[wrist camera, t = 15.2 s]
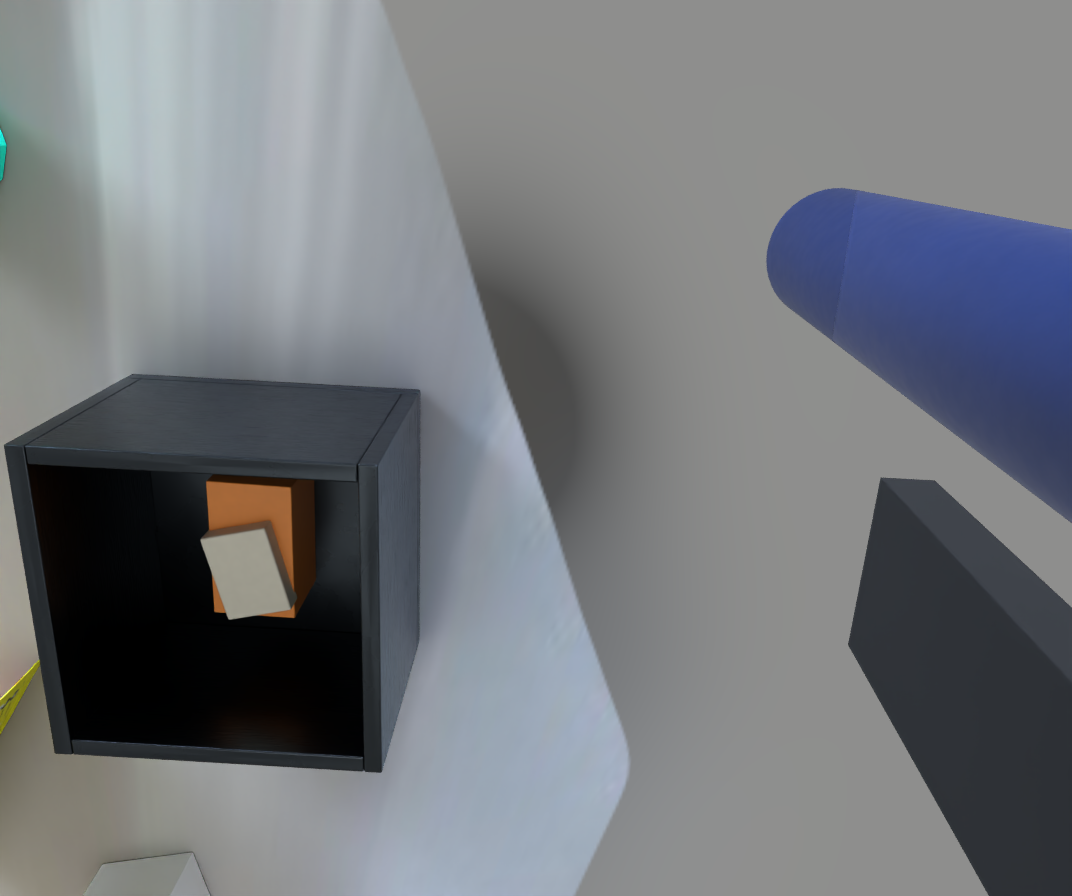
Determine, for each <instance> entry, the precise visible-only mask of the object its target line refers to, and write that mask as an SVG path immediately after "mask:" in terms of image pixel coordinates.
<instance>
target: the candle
mask: <svg viewBox="0 0 1072 896" xmlns="http://www.w3.org/2000/svg"><path fill="white" fill-rule="evenodd" d="M6 147H7V145H6V142H5V140H4V137H3V134H2V132H1V129H0V181H1V180H2V179H3V172H4V163H5V155H6Z"/></svg>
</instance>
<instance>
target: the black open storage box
mask: <svg viewBox="0 0 1072 896" xmlns="http://www.w3.org/2000/svg"><path fill="white" fill-rule="evenodd" d="M4 449H5V455H6V461H7V467H8V473H9V479H10V485H11V491H12V497H13V503H14V509H15V515H16V521H17V527H18V533H19V539H20V545H21V551H22V557H23V563H24V569H25V576H26V582H27V588H28V594H29V600H30V606H31V612H32V618H33V624H34V630H35V636H36V642H37V648H38V654H39V660H40V666H41V672H42V678H43V684H44V690H45V696H46V702H47V708H48V714H49V720H50V727H51V733H52V739H53V745H54V751H55V753H56V754H78V755H95V756H112V757H129V758H145V759H162V760H179V761H196V762H213V763H229V764H246V765H263V766H280V767H297V768H313V769H330V770H347V771H365V772H377V773H381V772H382V770H383V766H384V763H385V759H386V756H387V752H388V749H389V745H390V742H391V738H392V735H393V731H394V728H395V724H396V721H397V717H398V714H399V710H400V707H401V703H402V700H403V696H404V693H405V689H406V685H407V682H408V678H409V675H410V671H411V668H412V664H413V661H414V657H415V654H416V650H417V647H418V643H419V585H420V390H415V389H396V388H378V387H360V386H342V385H323V384H305V383H287V382H269V381H250V380H232V379H214V378H195V377H177V376H159V375H141V374H132V375H130V376H128V377H126V378H124V379H122V380H120V381H119V382H117V383H115V384H113V385H111V386H110V387H108V388H106V389H104V390H102V391H101V392H99V393H97V394H95V395H93V396H91V397H90V398H88V399H86V400H84V401H82V402H81V403H79V404H77V405H75V406H73V407H72V408H70V409H68V410H66V411H64V412H63V413H61V414H59V415H57V416H55V417H53V418H52V419H50V420H48V421H46V422H44V423H43V424H41V425H39V426H37V427H35V428H34V429H32V430H30V431H28V432H26V433H25V434H23V435H21V436H19V437H17V438H15V439H14V440H12V441H10V442H8V443H6V444H5V445H4ZM212 475H231V476H249V477H267V478H285V479H302V480H314V502H315V553H316V580H315V582H314V584H313V586H312V588H311V589H310V591H309V593H308V595H307V597H306V598H305V600H304V602H303V604H302V606H301V607H300V609H299V611H298V613H297V615H296V616H295V618H286V617H273V616H259V615H256V616H250V617H244V618H237V619H231V620H229V619H228V617H227V614H226V613H219V612H215V611H214V597H213V581H212V572H211V569H210V566H209V564H208V561H207V558H206V555H205V552H204V550H203V547H202V544H201V541H200V539H201V538H202V537H203V536H204V535H205V534H206V532H207V531H208V530H209V519H208V503H207V488H206V481H207V480H208V479H209V478H210V477H211V476H212Z"/></svg>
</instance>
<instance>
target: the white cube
mask: <svg viewBox="0 0 1072 896" xmlns="http://www.w3.org/2000/svg"><path fill="white" fill-rule="evenodd" d="M83 896H210V894H209V892H208V889H207V887H206V884H205V882H204V879H203V877H202V874H201V872H200V869H199V867H198V864H197V862H196V860H195V857H194V855H193V852H190V853H183V854H175V855H168V856H160V857H153V858H145V859H138V860H130V861H122V862H115V863H107V864H102V866H101V867H100V869H99V871H98V872H97V874H96V875H95V877H94V878H93V880H92V882H91V883H90V885H89V886H88V888H87V890H86V891H85V893H84V894H83Z"/></svg>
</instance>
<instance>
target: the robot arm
mask: <svg viewBox="0 0 1072 896" xmlns="http://www.w3.org/2000/svg"><path fill="white" fill-rule="evenodd" d="M848 645H849V647H850V649H851V651H852V653H853V654H854V656H855V658H856V660H857V661H858V663H859V665H860V667H861V668H862V670H863V672H864V674H865V676H866V678H867V679H868V681H869V683H870V685H871V686H872V688H873V690H874V692H875V693H876V695H877V697H878V699H879V701H880V702H881V704H882V706H883V708H884V710H885V711H886V713H887V715H888V717H889V719H890V720H891V722H892V724H893V726H894V727H895V729H896V731H897V733H898V734H899V736H900V738H901V740H902V742H903V743H904V745H905V747H906V749H907V750H908V752H909V754H910V756H911V758H912V760H913V761H914V763H915V765H916V767H917V768H918V770H919V772H920V773H921V776H922V777H923V779H924V781H925V783H926V784H927V786H928V788H929V790H930V791H931V793H932V795H933V797H934V798H935V801H936V802H937V804H938V806H939V807H940V809H941V811H942V813H943V815H944V817H945V818H946V820H947V822H948V824H949V825H950V827H951V829H952V831H953V833H954V834H955V836H956V838H957V840H958V842H959V843H960V845H961V847H962V849H963V850H964V852H965V854H966V856H967V857H968V859H969V861H970V863H971V865H972V866H973V868H974V870H975V872H976V874H977V875H978V877H979V879H980V881H981V883H982V884H983V886H984V888H985V890H986V891H987V893H988V895H989V896H1072V608H1071V607H1070V606H1069V605H1068V604H1067V603H1066V602H1065V601H1064V600H1063V599H1062V598H1061V597H1060V596H1058V595H1057V594H1056V593H1055V592H1054V591H1053V590H1052V589H1051V588H1050V587H1049V586H1048V585H1047V584H1045V582H1043V581H1042V580H1041V579H1040V578H1039V577H1038V576H1037V575H1036V574H1035V573H1034V572H1033V571H1032V570H1031V569H1029V568H1028V567H1027V566H1026V565H1025V564H1024V563H1023V562H1022V561H1021V560H1020V559H1019V558H1018V557H1017V556H1015V555H1014V554H1013V553H1012V552H1011V551H1010V550H1009V549H1008V548H1007V547H1006V546H1005V545H1004V544H1002V543H1001V542H1000V541H999V540H998V539H997V538H996V537H995V536H994V535H993V534H992V533H991V532H989V531H988V530H987V529H986V528H985V527H984V526H983V525H982V524H981V523H980V522H979V521H978V520H977V519H975V518H974V517H973V516H972V515H971V514H970V513H969V512H968V511H967V510H966V509H965V508H964V507H963V506H961V505H960V504H959V503H958V502H957V501H956V500H955V499H954V498H953V497H952V496H951V495H950V494H948V493H947V492H946V491H945V490H944V489H943V488H942V487H941V486H940V485H939V484H938V483H937V482H936V481H933V480H914V479H896V478H881V479H880V484H879V489H878V495H877V499H876V504H875V509H874V515H873V520H872V525H871V530H870V536H869V540H868V545H867V551H866V556H865V561H864V566H863V571H862V577H861V581H860V587H859V592H858V597H857V602H856V607H855V612H854V618H853V623H852V628H851V633H850V638H849V643H848Z"/></svg>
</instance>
